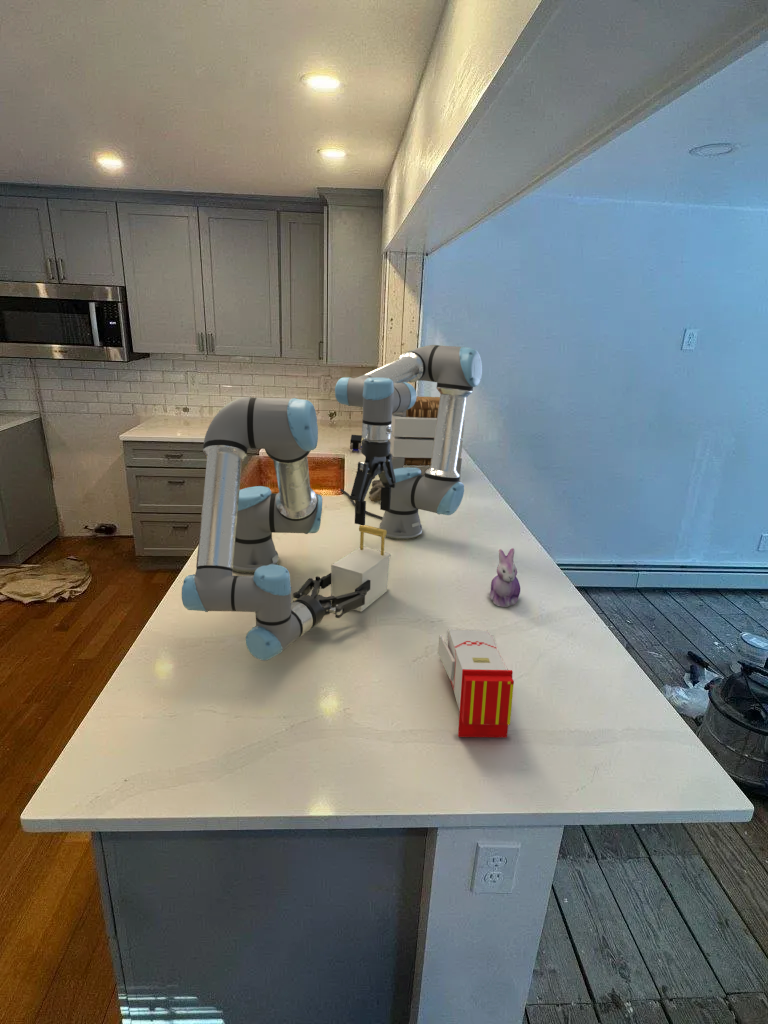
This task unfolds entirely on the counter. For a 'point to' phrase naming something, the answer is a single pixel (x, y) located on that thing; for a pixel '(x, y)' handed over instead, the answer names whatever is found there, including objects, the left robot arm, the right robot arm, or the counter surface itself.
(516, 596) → the figurine
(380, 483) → the fossil
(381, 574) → the chest
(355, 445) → the figurine character
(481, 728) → the toy
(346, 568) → the lid
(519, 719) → the counter surface
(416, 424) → the white wooden crate
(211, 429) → the left robot arm
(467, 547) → the counter surface
